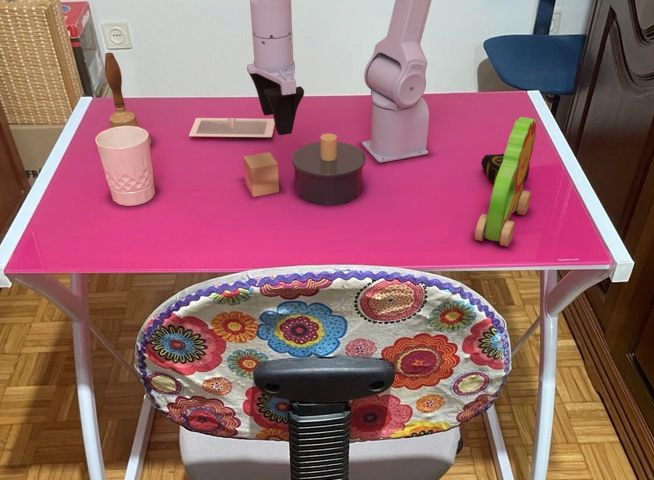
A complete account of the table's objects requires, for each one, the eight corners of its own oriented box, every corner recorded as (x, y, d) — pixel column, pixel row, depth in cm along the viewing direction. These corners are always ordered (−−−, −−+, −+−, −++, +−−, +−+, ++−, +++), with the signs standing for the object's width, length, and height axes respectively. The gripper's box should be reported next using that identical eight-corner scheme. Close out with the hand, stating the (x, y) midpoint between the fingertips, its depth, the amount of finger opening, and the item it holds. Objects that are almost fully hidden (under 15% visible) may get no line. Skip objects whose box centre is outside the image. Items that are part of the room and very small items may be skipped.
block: (271, 180, 119) (269, 151, 116) (279, 192, 116) (278, 163, 113) (245, 184, 118) (243, 156, 115) (253, 197, 115) (250, 168, 112)
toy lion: (507, 253, 102) (527, 153, 92) (470, 244, 104) (485, 145, 94) (533, 202, 113) (553, 107, 103) (499, 194, 115) (515, 101, 105)
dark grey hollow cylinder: (347, 169, 122) (347, 141, 119) (371, 198, 114) (372, 169, 111) (287, 179, 119) (286, 151, 116) (308, 210, 112) (308, 181, 108)
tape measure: (519, 170, 121) (523, 149, 119) (531, 189, 116) (536, 168, 114) (479, 171, 121) (482, 151, 118) (490, 191, 116) (493, 170, 113)
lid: (349, 142, 120) (349, 116, 117) (377, 173, 111) (378, 146, 108) (282, 154, 117) (281, 127, 114) (306, 186, 108) (305, 159, 105)
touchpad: (272, 142, 130) (271, 131, 128) (189, 141, 130) (187, 130, 129) (276, 124, 136) (275, 113, 134) (196, 123, 136) (195, 112, 135)
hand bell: (97, 153, 127) (76, 61, 116) (114, 133, 133) (96, 44, 123) (142, 156, 126) (125, 64, 115) (157, 136, 132) (142, 46, 122)
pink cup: (167, 188, 117) (157, 129, 111) (143, 211, 112) (131, 151, 105) (125, 180, 119) (113, 122, 113) (99, 203, 114) (84, 144, 107)
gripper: (232, 20, 107) (240, 109, 116) (259, 52, 97) (265, 147, 106) (277, 15, 109) (282, 103, 118) (309, 45, 98) (311, 139, 107)
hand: (277, 123), depth 112 cm, fingers open, 7 cm apart
